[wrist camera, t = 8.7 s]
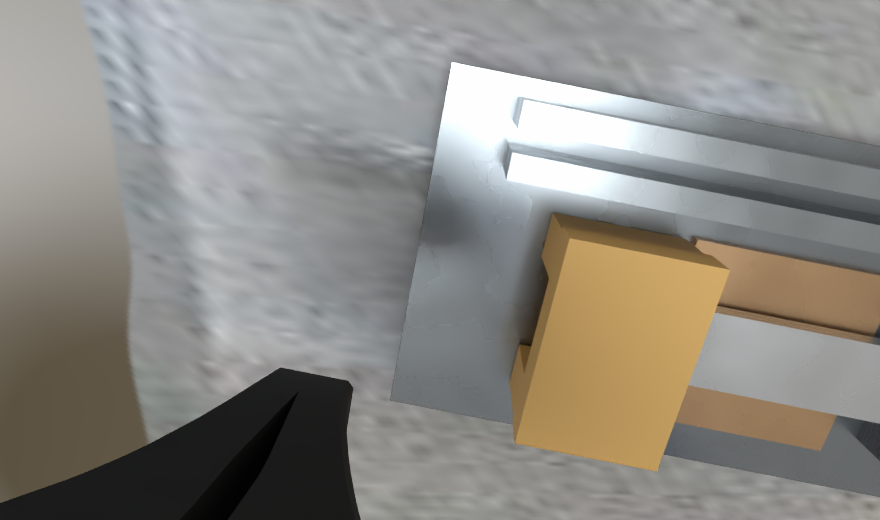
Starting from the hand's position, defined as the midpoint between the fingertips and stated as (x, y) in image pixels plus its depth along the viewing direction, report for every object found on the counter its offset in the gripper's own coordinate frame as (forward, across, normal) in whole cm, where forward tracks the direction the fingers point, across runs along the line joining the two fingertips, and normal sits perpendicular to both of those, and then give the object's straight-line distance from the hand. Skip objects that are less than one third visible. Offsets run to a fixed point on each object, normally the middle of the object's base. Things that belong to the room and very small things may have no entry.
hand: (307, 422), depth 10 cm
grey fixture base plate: (+10, -11, -1) cm, 15 cm away
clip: (+8, -7, 0) cm, 11 cm away
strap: (+8, -12, 0) cm, 14 cm away
